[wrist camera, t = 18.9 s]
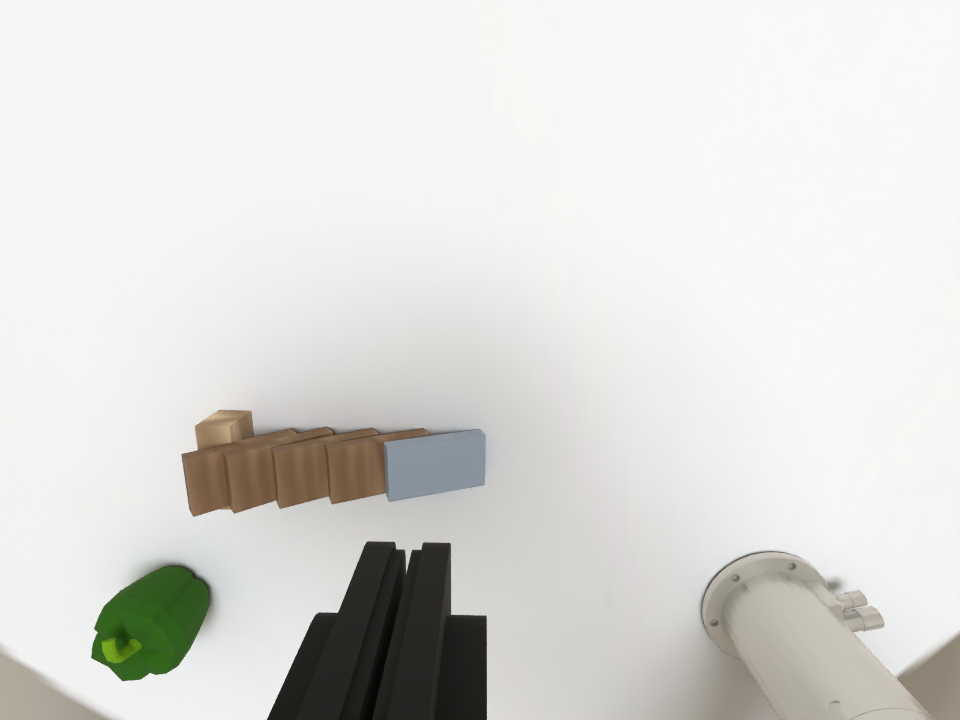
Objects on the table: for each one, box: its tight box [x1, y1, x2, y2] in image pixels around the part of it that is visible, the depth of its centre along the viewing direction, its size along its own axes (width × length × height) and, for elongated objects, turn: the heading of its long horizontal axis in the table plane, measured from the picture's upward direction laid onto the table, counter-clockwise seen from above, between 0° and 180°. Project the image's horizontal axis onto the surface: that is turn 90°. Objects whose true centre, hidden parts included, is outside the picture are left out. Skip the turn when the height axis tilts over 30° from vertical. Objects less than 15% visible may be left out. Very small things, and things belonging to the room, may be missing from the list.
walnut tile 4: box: [181, 429, 297, 517], centre depth 43 cm, size 2×5×9 cm
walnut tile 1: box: [325, 428, 429, 504], centre depth 44 cm, size 2×5×9 cm
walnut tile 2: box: [271, 428, 379, 509], centre depth 44 cm, size 2×5×9 cm
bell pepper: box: [91, 567, 209, 681], centre depth 46 cm, size 8×8×10 cm
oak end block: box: [195, 410, 254, 509], centre depth 45 cm, size 3×8×4 cm, turn 179°
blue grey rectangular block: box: [384, 429, 485, 502], centre depth 45 cm, size 2×5×9 cm
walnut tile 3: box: [222, 427, 333, 514], centre depth 44 cm, size 2×5×9 cm
